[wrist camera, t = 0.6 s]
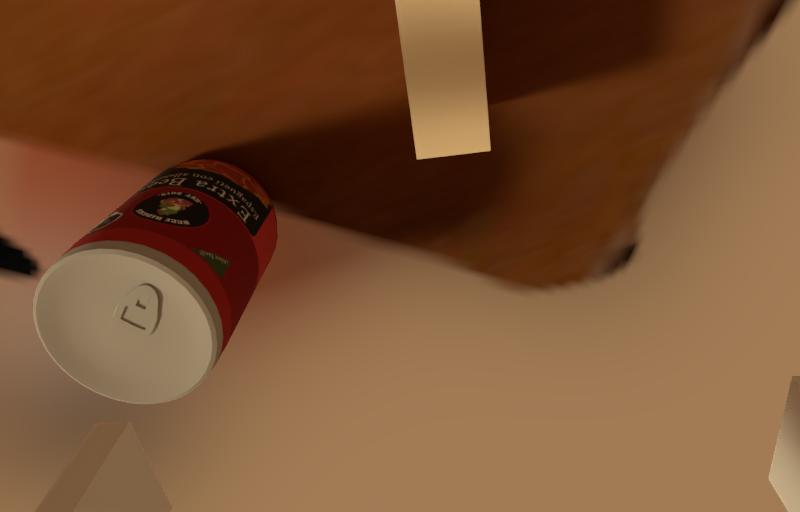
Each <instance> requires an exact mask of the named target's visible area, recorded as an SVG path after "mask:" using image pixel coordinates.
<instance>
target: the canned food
mask: <svg viewBox="0 0 800 512" xmlns="http://www.w3.org/2000/svg"><path fill="white" fill-rule="evenodd" d="M276 241H277V220H276V215H275V211H274V207H273V205H272V203H271V200H270V198H269V196H268V194H267V193H266V192H265V190H264V189H263V188H262V186H261V185H260V184H259V183H258V182H257V181H256V180H255V179H254V178H253V177H252V176H251V175H249V174H248V173H246V172H245V171H243V170H242V169H240V168H238V167H236V166H234V165H232V164H229V163H227V162H222V161H218V160H210V159H199V160H192V161H185V162H181V163H178V164H176V165H173V166H171V167H169V168H167V169H166V170H164V171H163V172H162V173H160V174H159V175H158V176H156V177H155V178H154V179H153V180H152V181H150V182H149V183H148V184H147V185H145V186H144V187H143V188H142V189H141V190H140V191H138V192H137V193H136V194H135V195H133V196H132V197H131V198H130V199H128V200H127V201H126V202H125V203H124V204H123V205H121V206H120V207H119V208H118V209H116V210H115V211H114V212H113V213H112V214H110V215H109V216H108V217H107V218H106V219H104V220H103V221H102V222H101V223H99V224H98V225H97V226H96V227H95V228H93V229H92V230H91V231H90V232H89V233H87V234H86V235H85V236H84V237H82V239H80V240H79V241H78V242H76V243H75V244H74V245H73V246H72V247H71V248H70V249H69V250H68V251H67V252H65V253H64V254H63V255H62V256H61V257H59V258H58V260H57V261H56V262H55V263H54V264H53V265H52V266H51V267H50V269H49V270H48V271H47V272H46V273H45V274H44V276H43V277H42V278H41V280H40V282H39V285H38V287H37V289H36V291H35V296H34V302H33V314H34V322H35V326H36V329H37V333H38V336H39V337H40V339H41V341H42V343H43V345H44V347H45V349H46V351H47V352H48V353H49V355H50V356H51V357H52V359H53V360H54V361H55V363H56V364H57V365H58V366H59V367H61V369H62V370H64V371H65V372H66V373H67V374H68V375H69V376H70V377H72V378H73V379H74V380H76V381H77V382H79V383H80V384H81V385H83V386H85V387H86V388H88V389H90V390H92V391H94V392H96V393H98V394H100V395H103V396H106V397H109V398H111V399H114V400H119V401H123V402H128V403H136V404H155V403H164V402H168V401H172V400H175V399H178V398H180V397H182V396H184V395H186V394H188V393H190V392H192V391H193V390H194V389H195V388H197V387H198V386H199V385H200V384H201V383H202V382H203V381H204V380H205V378H206V377H207V376H208V374H209V373H210V372H211V370H212V369H213V368H214V366H215V365H216V363H217V361H218V359H219V357H220V355H221V353H222V352H223V350H224V349H225V347H226V345H227V343H228V341H229V339H230V337H231V335H232V333H233V331H234V330H235V328H236V326H237V324H238V322H239V320H240V317H241V316H242V314H243V312H244V310H245V308H246V306H247V304H248V302H249V300H250V298H251V296H252V295H253V293H254V291H255V289H256V287H257V285H258V283H259V281H260V279H261V277H262V275H263V273H264V271H265V269H266V267H267V265H268V263H269V261H270V259H271V257H272V254H273V252H274V250H275V247H276Z"/></svg>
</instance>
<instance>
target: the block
mask: <svg viewBox="0 0 800 512" xmlns="http://www.w3.org/2000/svg"><path fill="white" fill-rule="evenodd" d="M395 4H396V11H397V18H398V26H399V33H400V40H401V48H402V55H403V62H404V70H405V77H406V84H407V92H408V99H409V106H410V113H411V121H412V128H413V135H414V143H415V150H416V157H417V160H418V159H427V158H435V157H444V156H452V155H460V154H469V153H477V152H486V151H491V147H490V133H489V120H488V106H487V93H486V80H485V66H484V53H483V39H482V26H481V12H480V0H395Z"/></svg>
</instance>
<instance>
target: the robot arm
mask: <svg viewBox="0 0 800 512" xmlns="http://www.w3.org/2000/svg"><path fill="white" fill-rule="evenodd" d="M768 479H769V480H770V482H771V484H772V485H773V487H774V489H775V491H776V492H777V494H778V495H779V497H780V499H781V500H782V502H783V504H784V505H785V507H786V509H787V510H788V512H800V376H793V377H792V380H791V384H790V388H789V393H788V397H787V401H786V406H785V410H784V414H783V418H782V422H781V427H780V431H779V435H778V439H777V444H776V448H775V452H774V457H773V461H772V465H771V469H770V474H769V478H768ZM171 508H172V506H171V504H170V502H169V500H168V498H167V496H166V494H165V492H164V490H163V488H162V486H161V484H160V482H159V480H158V478H157V476H156V474H155V472H154V470H153V467H152V465H151V464H150V461H149V459H148V457H147V455H146V453H145V451H144V449H143V447H142V445H141V443H140V441H139V439H138V437H137V435H136V433H135V431H134V428H133V426H132V424H131V422H130V421H119V422H104V423H96V424H95V425H94V427H93V428H92V430H91V431H90V432H89V434H88V435H87V437H86V438H85V440H84V441H83V443H82V444H81V446H80V447H79V449H78V450H77V451H76V453H75V454H74V456H73V457H72V459H71V460H70V461H69V463H68V464H67V466H66V467H65V469H64V470H63V472H62V473H61V475H60V476H59V477H58V479H57V480H56V482H55V483H54V485H53V486H52V487H51V489H50V491H49V492H48V493H47V495H46V496H45V498H44V499H43V500H42V502H41V504H40V505H39V506H38V508H37V509H36V511H35V512H170V511H171Z"/></svg>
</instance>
